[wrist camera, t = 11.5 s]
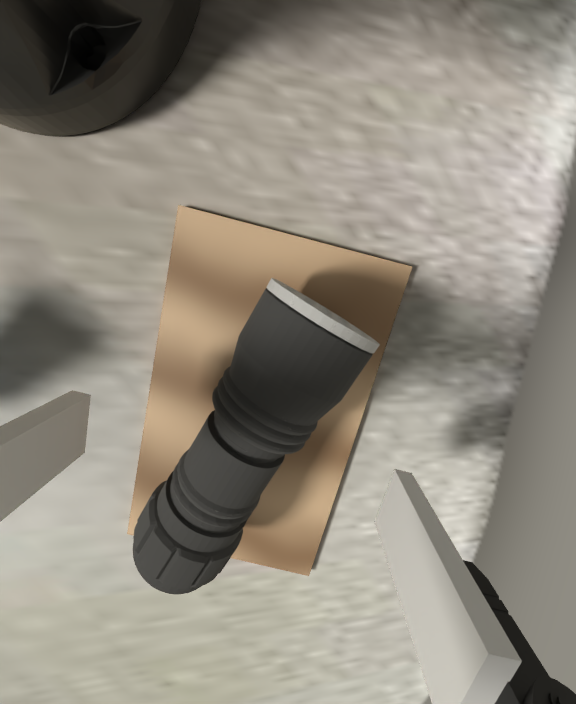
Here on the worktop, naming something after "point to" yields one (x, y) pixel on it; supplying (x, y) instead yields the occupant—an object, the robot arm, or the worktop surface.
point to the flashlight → (247, 435)
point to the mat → (217, 353)
